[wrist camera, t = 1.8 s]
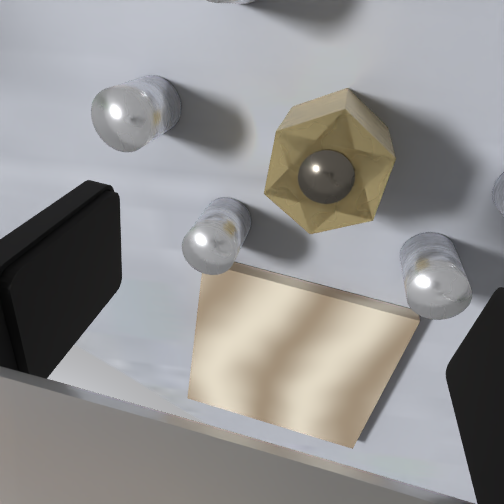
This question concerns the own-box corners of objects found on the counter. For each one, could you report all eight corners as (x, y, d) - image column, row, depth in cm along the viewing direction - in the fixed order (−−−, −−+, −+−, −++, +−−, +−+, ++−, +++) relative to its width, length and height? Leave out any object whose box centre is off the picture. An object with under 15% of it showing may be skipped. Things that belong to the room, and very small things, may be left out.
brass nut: (398, 98, 20) (409, 123, 15) (361, 203, 23) (362, 248, 18) (298, 77, 20) (282, 95, 16) (276, 182, 23) (258, 222, 19)
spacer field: (681, -1, 16) (769, -4, 12) (485, 307, 24) (506, 355, 21) (129, -99, 18) (77, -123, 15) (131, 215, 27) (98, 244, 23)
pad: (418, 311, 25) (420, 321, 25) (352, 437, 33) (352, 448, 32) (207, 254, 27) (203, 262, 26) (191, 388, 34) (187, 398, 34)
